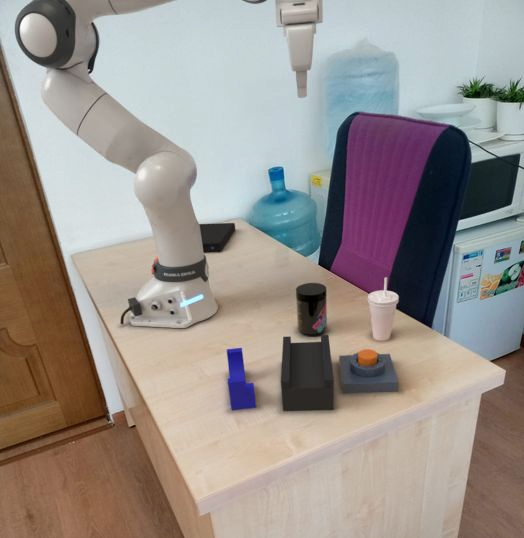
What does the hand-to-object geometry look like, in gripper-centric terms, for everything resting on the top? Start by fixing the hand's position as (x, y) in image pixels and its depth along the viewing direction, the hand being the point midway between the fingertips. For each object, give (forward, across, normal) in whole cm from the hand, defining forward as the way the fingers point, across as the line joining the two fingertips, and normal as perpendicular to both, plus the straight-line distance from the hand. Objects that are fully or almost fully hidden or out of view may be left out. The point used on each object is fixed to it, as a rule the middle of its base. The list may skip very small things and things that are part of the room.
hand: (301, 95), depth 102 cm
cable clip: (+48, +36, -14) cm, 61 cm away
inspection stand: (+48, +35, -1) cm, 59 cm away
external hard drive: (+48, -57, -34) cm, 82 cm away
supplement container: (+48, +13, 0) cm, 49 cm away
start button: (+44, +33, +10) cm, 56 cm away
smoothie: (+48, +17, +16) cm, 53 cm away
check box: (+48, +33, +10) cm, 59 cm away
